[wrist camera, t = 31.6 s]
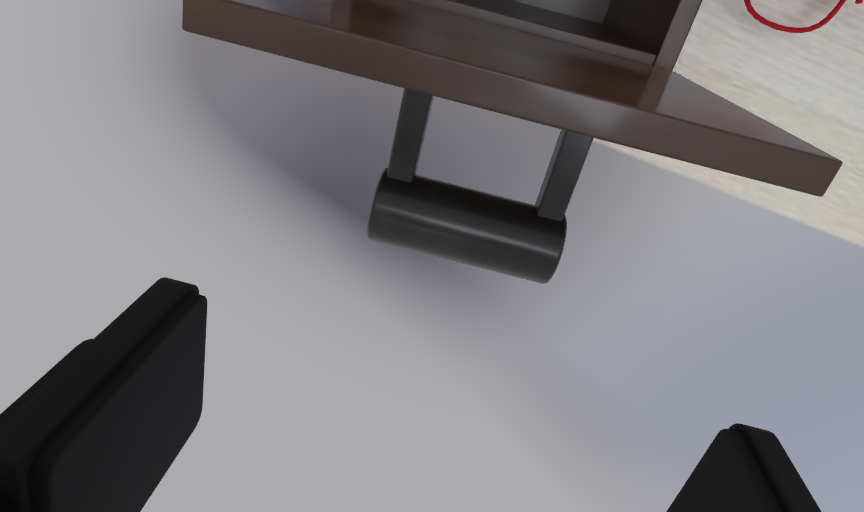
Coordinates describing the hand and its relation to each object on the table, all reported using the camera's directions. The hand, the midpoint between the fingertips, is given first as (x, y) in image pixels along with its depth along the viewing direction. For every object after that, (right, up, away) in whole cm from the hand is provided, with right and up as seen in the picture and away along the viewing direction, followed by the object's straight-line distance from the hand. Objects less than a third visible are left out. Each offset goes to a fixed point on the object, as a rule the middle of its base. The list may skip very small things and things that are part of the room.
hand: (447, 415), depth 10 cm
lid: (+2, +9, +6) cm, 11 cm away
